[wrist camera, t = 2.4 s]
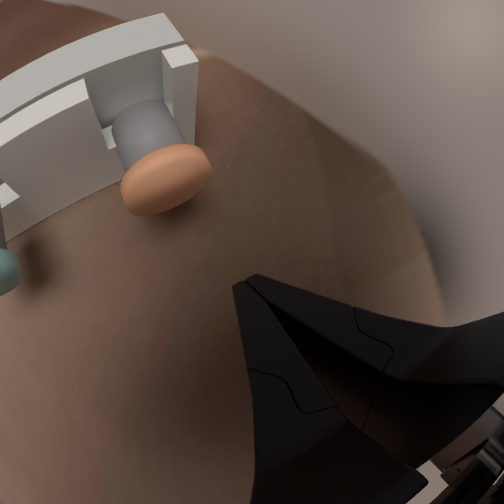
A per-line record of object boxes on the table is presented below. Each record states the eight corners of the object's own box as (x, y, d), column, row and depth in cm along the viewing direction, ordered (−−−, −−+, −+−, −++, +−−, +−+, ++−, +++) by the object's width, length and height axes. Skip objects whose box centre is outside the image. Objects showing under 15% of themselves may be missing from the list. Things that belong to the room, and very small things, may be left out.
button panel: (194, 150, 23) (198, 61, 14) (-9, 252, 18) (-80, 213, 9) (166, 96, 24) (163, 12, 15) (-16, 187, 19) (-70, 135, 10)
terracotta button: (210, 192, 18) (215, 147, 13) (135, 225, 16) (116, 187, 12) (178, 131, 18) (177, 80, 14) (111, 159, 17) (92, 112, 12)
